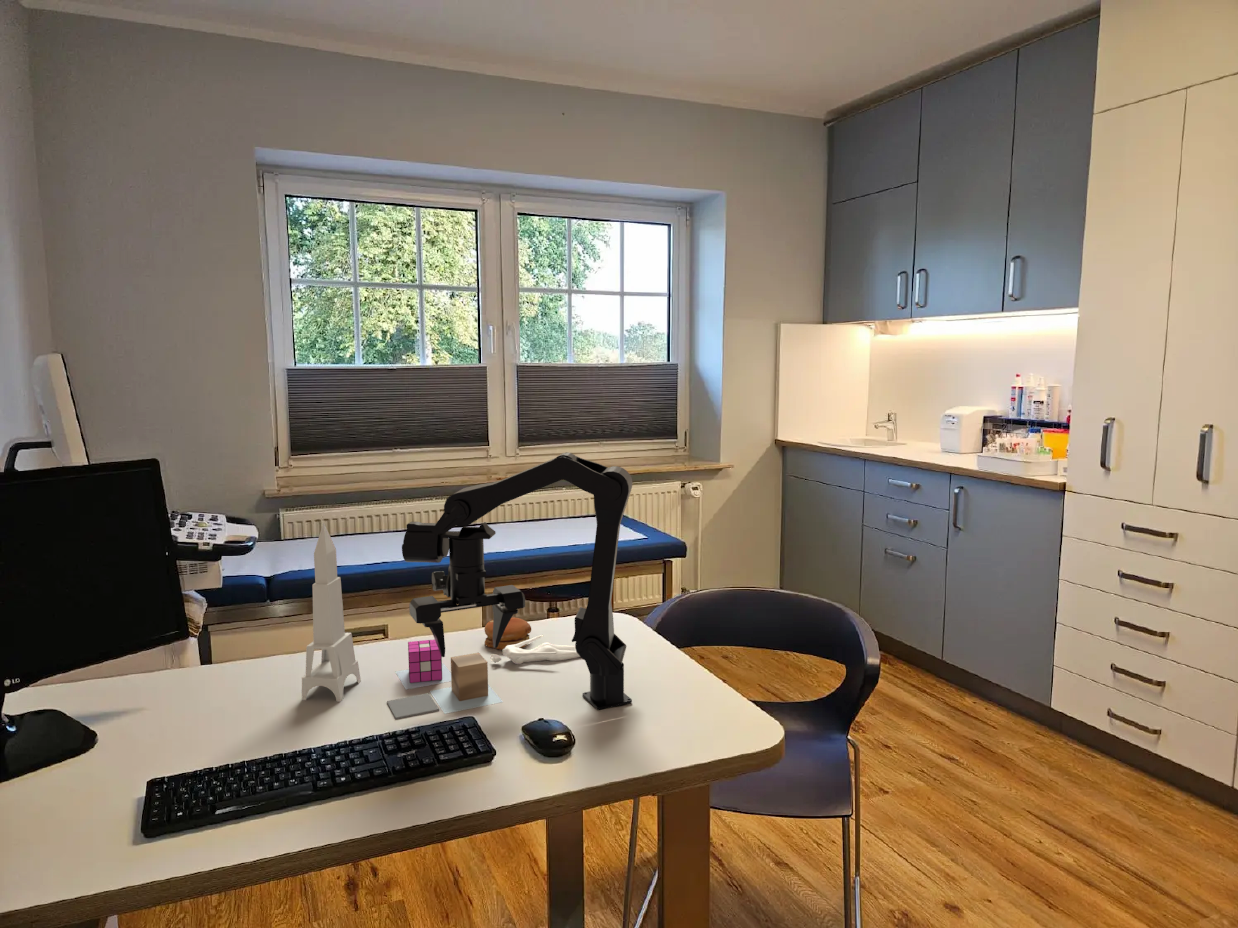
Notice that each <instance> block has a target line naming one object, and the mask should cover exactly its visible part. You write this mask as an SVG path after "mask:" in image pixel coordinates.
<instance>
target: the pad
mask: <svg viewBox="0 0 1238 928" xmlns="http://www.w3.org/2000/svg"><path fill="white" fill-rule="evenodd" d="M430 694H431V693H430V692H429V693H422V694H421V693H420V694H417V695H412V696H405V697H402V698H401V697H400V698H395V699H390V700H387V701H386V703H387V705H388V707H389V709H390V712H391V714H392V716H393V717H394V719H395V720H400V719H407V718H410V717H415V716H420V715H421V716H422V715H424V714H431V713H435V712H439V711H440V707H438V704H437V703H436V701H435V699H433V698H432V697H433V696H432V695H430Z"/></svg>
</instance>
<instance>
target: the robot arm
mask: <svg viewBox="0 0 1238 928" xmlns="http://www.w3.org/2000/svg"><path fill="white" fill-rule="evenodd" d="M562 480H563V481H566V482H569V483H570V484H572V485H573V486H575V487H577V488H579V489H581V491H584V492H586V493H588V494H590V495H593V507H594V514H595V521H596V530H595V539H594V547H593V555H592V564H591V574H590V581H589V589H588V599H587V604H586V608H584V607H582V606H580V607H579V609H578V611H577V613H576V615H575V617H574V634H573V637H572V639H571V642H572V643H574V642H575V645H574V646H575V648H576V652H577V653H578V654H579V656H580V657H579V658H581V659H583V660H584V661H585V664H586V667H587V669H588V672H589V678H590V679H589V691H585V692H582V698H584V699H585V700H586V701H587V702H589V704H591V705H592V706H593V707H594V709H596V710H600V711H601V710H604V709H610V708H614V707H618V706H622V705H623V706H624V705H627V704H628V705H629V704H631V703H632V702H633V699H632V698H631V697H630V696H628V695H627V694H626V693H625V690H624V689H625V687H624V686H625V678H624V677H625V664H624V662H623V661H624V658H625V657H624V656H625V653H626V651H627V650H626V649H627V644H626V643H625V642H623V641H622V640H621V639H620V637H618V635H617V634H616V633H615V628H614V614H613V607H612V595H613V589H614V587H613V586H614V578H615V573H616V564H617V563H616V562H617V555H618V547H619V546H618V545H619V538H620V529H621V524H622V520H623V517H624V514H625V511H626V507H627V505H628V501H629V499H630V498H629V497H630V496H631V491H632V488H633V478H632V475H631V474H630V473H629V471H628V470H626V469H625V468H624V467H621V466H618V465H617V466H615V465H614V466H609V467H608V466H606V465H603V464H601V463H599V462H594V461H592V460H589V459H585V458H582V457H579V456H578V455H575V454H574V453H572V452H562V453H560V454H559V455H557V456H556V457H554V458H552V459H550V460H547V461H545V462H542V463H539V464H538V465H534V466H533V467H530V468H528V469H525V470H523V471H520V472H518V473H517V472H516V474H512V475H511V476H507V477H506V478H503V479H501V480H498V481H494V482H488V483H481V484H476V485H472V486H467V487H464V488H461V489H460V490H458V491H456V492H454V493H453V494H450V495H449V496H447V498H446V500H445V502H444V504H443V513H442V515H441V516H440V517H439V519H438V520H437V521H436V522H420V521H410V522H408V523H407V524H406V531H405V533H404V536H403V543H402V544H401V552H402V553H401V554H402V558H403V560H404V562H406V563H435V564H437V563H438V564H439V563H441V562H442V560H443V559H444V558H446V557H447V556H448V557H449V566H448V570H447V571H448V573H447V575H446V574H445V571H443V570H442V571H441V570H439V571H433V572H432V573H431V585H432V591H434V592H436V591H443V596H446V597H447V598H450V599H446V600H437V599H436V598H435V596H434V595H429V596H421V597H416V598H412V599H411V601H410V602H409V607H408V608H409V615H410V617H411V618H412V619H413V620H414V622H415V623H416V624H420V625H423V626H424V628H429V629H430V631H431V633H432V636H433V638H434V639H435V641H436V644H437V646H438V649H439V651H440V654H441V656H442V658H445V657H446V643H445V630H444V622H443V621H442V620H441V619H440V618H441V616H442V614H443V613H449V612H455V611H462V610H468V609H476V608H481V607H488V606H489V607H490V606H491V607H492V612H493V619H492V620H493V647H494V648H493V649H496V648H497V647H498V645H499V642H500V640H501V638H502V635H503V633H504V631H505V628H506V626H507V625H508V623H509V621H510V619H511V618H512V617H513V615H516V614H518V613H519V609H524V608H525V607H526V596H525V594H524V592H523V591H521V589H519V588H517V587H516V586H515V585H513V584H509V585H504V586H503V585H502V586H495V587H493V591H492V593H490V594H486V589H485V578H487V571H486V570H485V556H484V555H485V552H484V547H485V546H484V540H490V539H492V538H493V537H494V536H495V535H496V533H497V532H496V530H494V529H493V528H492V527H490V526H489V524H487V522H486V521H485V522H483V523H481V524H480V526H470V525H471V524H473V523H475V522H477V520H479V519H481V518H483V517H484V516H485V515H488V513H490V512H492V511H493V510H495V509H496V508H498V507H500V506H501V505H503V504H505V503H508V502H510V501H513V500H515V499H517V498H520V497H522V496H525V495H527V494H531V493H532V492H536V491H537V490H540V489H542V488H545V487H548V486H549V485H553V484H555V483H558V482H560V481H562ZM455 527H457V528H461V529H460V530H459V531H457V530H456V531H454V530H452V529H453V528H455ZM450 530H451V531H450ZM434 639H433V640H434Z"/></svg>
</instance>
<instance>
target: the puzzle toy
mask: <svg viewBox="0 0 1238 928" xmlns="http://www.w3.org/2000/svg"><path fill="white" fill-rule="evenodd" d="M407 655H408V669H409V678H410V679H409V681H410V683H416V682H426V681H435V680H442V663H443V660H442V659H443V657H442V656H441V654H440V651H439V649H438V646H437V644H436V641H435V639H425V640H414V641H412V640H411V641H408V642H407Z"/></svg>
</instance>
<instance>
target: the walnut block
mask: <svg viewBox="0 0 1238 928" xmlns="http://www.w3.org/2000/svg"><path fill="white" fill-rule="evenodd" d="M488 664H489V663H488V661H487V660H486V659H485V658H484V657H483V656H482V654H481V653H479V652H475V653H469V654H468V653H467V654H462V655H457V656H451V657H450V672H451V681H450V682H451V686H450V687H452V692H453V693H454V694H455V696H456V697H457V698H458V700H459V701H464V700H469V699H474V698H479V697H484V696H488V685H489V674H488V673H489V671H488V670H489V667H488V666H489V665H488Z"/></svg>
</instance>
